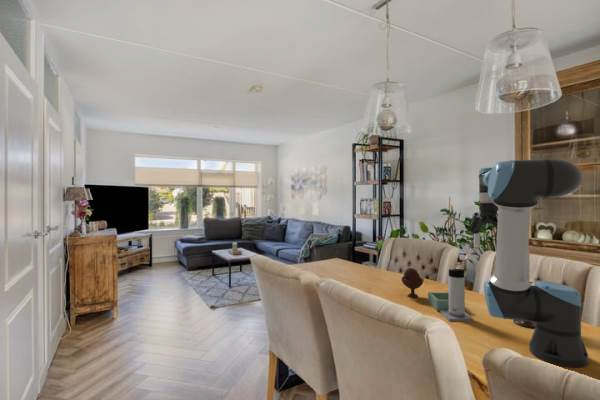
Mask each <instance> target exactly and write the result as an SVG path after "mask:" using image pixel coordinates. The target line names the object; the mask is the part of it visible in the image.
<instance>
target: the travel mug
mask: <svg viewBox="0 0 600 400" xmlns="http://www.w3.org/2000/svg"><path fill="white" fill-rule="evenodd" d="M465 278H466V277H465V269H463V268H452V269H451V268H450V269H448V292H449V314H450V315H452V316H455V317H463V316H465V312H466V311H465V310H466V309H465V307H466V306H465V305H466V303H465V301H466V297H465V294H466V292H465V285H466V283H465V281H466V280H465Z"/></svg>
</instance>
